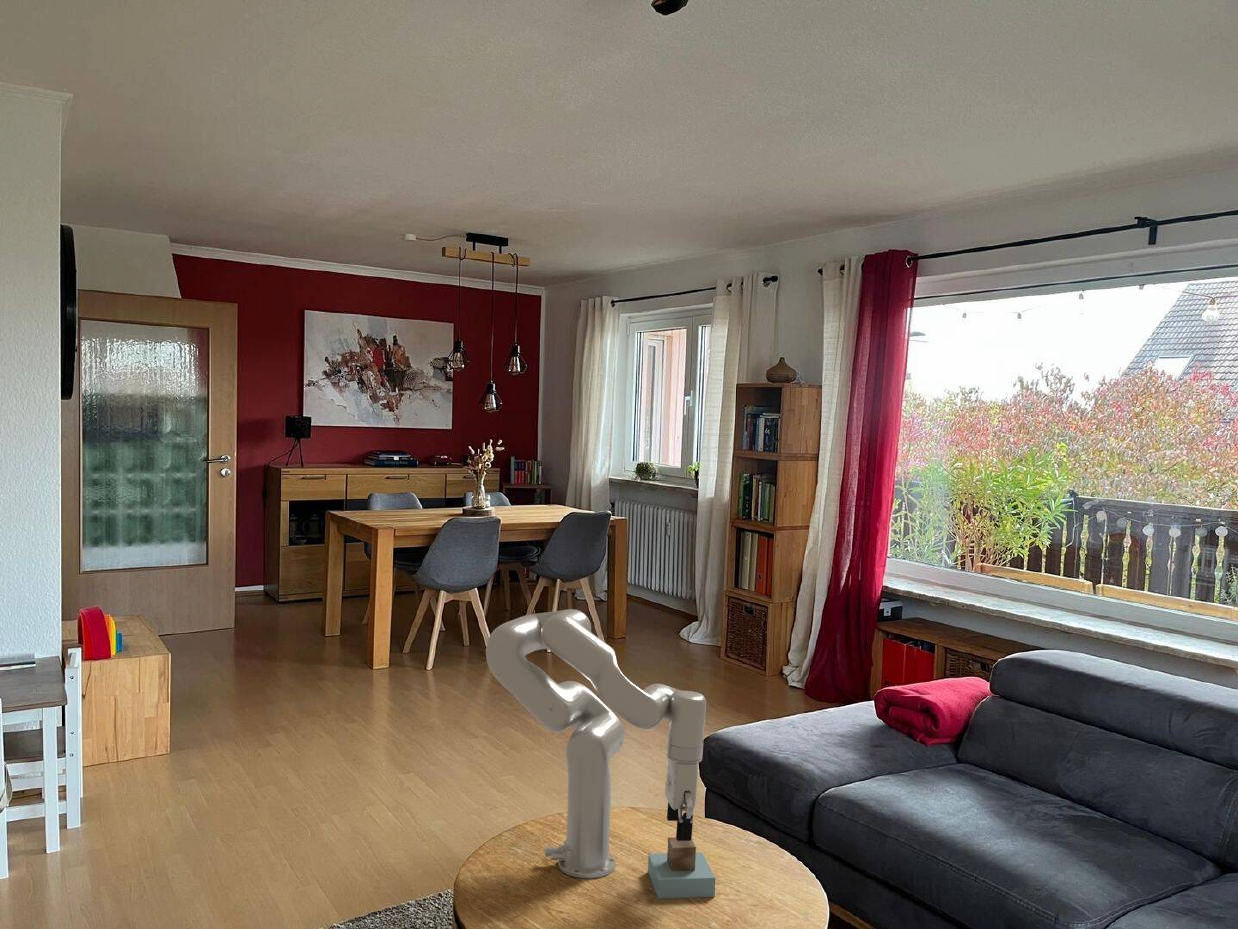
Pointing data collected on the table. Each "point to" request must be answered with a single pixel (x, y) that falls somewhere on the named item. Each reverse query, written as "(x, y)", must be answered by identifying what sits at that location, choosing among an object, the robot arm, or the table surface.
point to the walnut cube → (681, 855)
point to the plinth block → (681, 878)
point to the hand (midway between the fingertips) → (678, 830)
